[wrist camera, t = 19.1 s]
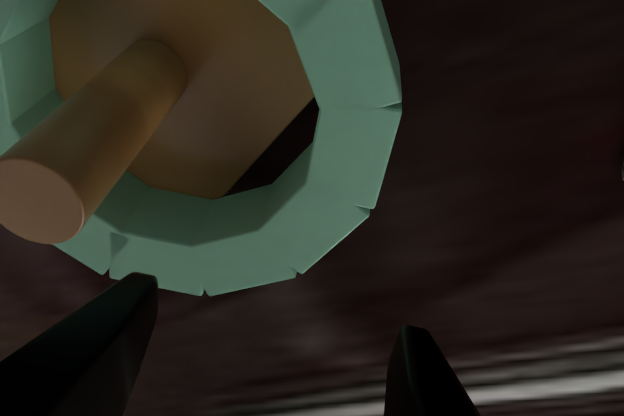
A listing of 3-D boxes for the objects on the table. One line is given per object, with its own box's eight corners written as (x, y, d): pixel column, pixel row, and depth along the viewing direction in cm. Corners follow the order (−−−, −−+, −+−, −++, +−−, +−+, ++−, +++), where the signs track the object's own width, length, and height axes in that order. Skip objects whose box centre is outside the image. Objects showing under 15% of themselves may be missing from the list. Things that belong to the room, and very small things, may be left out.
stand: (201, 213, 21) (116, 395, 14) (-4, 71, 18) (-223, 209, 12) (347, 51, 17) (326, 196, 10) (112, -155, 14) (-117, -143, 8)
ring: (234, 295, 21) (218, 348, 19) (-73, 93, 18) (-135, 129, 16) (484, 64, 15) (501, 103, 13) (103, -303, 12) (43, -332, 10)
